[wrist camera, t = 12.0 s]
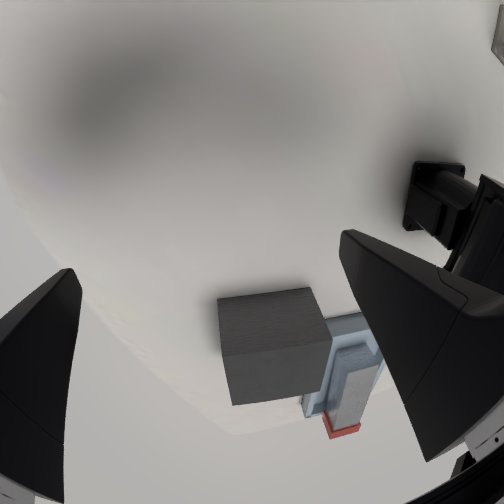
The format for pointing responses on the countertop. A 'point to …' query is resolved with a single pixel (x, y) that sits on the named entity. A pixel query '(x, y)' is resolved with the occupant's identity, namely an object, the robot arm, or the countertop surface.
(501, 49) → the skyscraper
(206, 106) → the countertop surface
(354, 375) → the pin
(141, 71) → the countertop surface
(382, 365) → the tray
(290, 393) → the block
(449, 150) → the countertop surface
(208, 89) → the countertop surface
